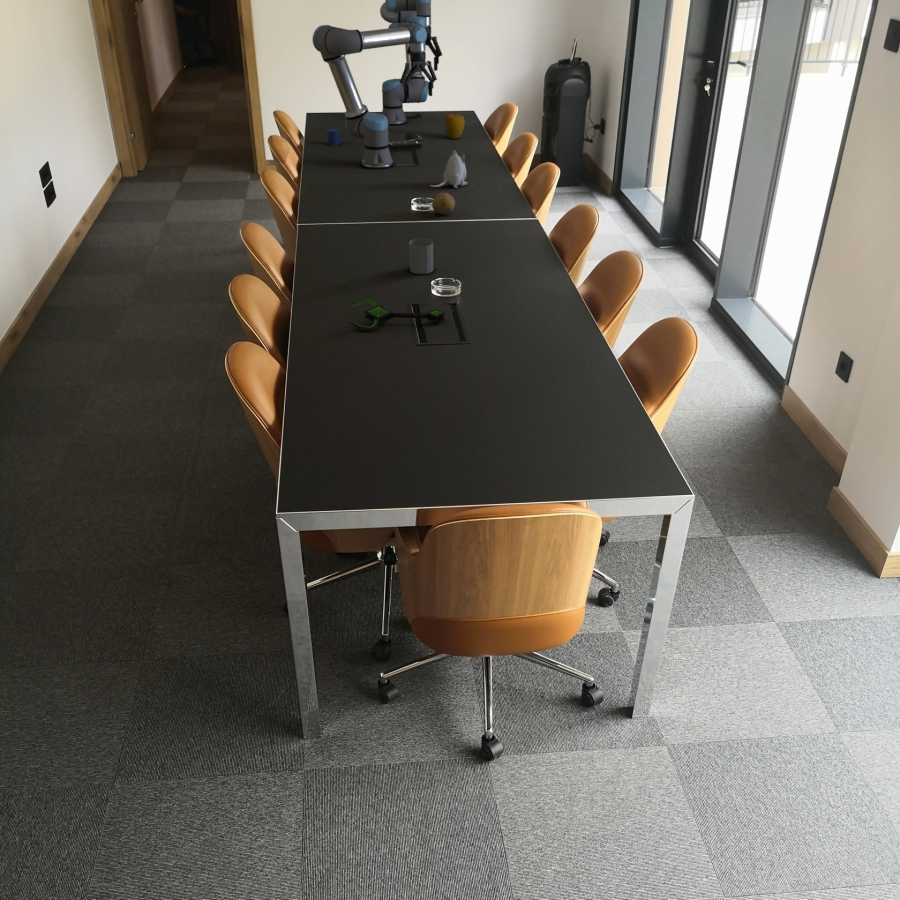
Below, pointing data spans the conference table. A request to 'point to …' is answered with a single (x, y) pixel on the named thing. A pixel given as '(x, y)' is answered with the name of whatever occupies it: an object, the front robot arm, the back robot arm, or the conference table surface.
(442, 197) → the potato
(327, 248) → the conference table surface
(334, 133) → the can
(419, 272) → the cup
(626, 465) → the conference table surface
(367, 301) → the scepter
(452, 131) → the yellow bell pepper
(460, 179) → the toy
